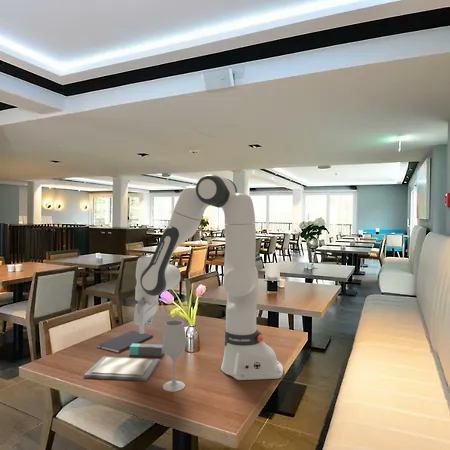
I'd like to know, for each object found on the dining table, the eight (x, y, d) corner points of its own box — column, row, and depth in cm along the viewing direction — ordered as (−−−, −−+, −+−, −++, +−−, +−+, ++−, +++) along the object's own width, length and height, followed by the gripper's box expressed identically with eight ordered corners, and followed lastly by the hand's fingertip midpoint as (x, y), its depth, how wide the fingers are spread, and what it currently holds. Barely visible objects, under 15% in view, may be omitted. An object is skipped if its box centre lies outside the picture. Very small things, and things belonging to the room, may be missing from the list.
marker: (163, 353, 148) (163, 344, 148) (161, 356, 145) (161, 347, 145) (132, 351, 149) (132, 343, 149) (129, 354, 146) (129, 346, 146)
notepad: (159, 361, 139) (159, 358, 139) (146, 380, 124) (146, 376, 124) (103, 359, 141) (103, 355, 141) (83, 377, 125) (83, 373, 125)
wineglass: (157, 386, 120) (157, 322, 119) (176, 379, 125) (176, 318, 124) (171, 394, 114) (171, 327, 114) (190, 386, 120) (190, 323, 119)
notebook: (119, 354, 148) (153, 338, 167) (119, 350, 148) (153, 335, 166) (96, 348, 154) (131, 333, 173) (96, 344, 154) (131, 330, 172)
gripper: (146, 301, 136) (145, 338, 136) (160, 290, 156) (160, 322, 157) (129, 301, 136) (129, 337, 137) (146, 289, 157) (145, 321, 157)
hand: (145, 329), depth 147 cm, fingers open, 8 cm apart
